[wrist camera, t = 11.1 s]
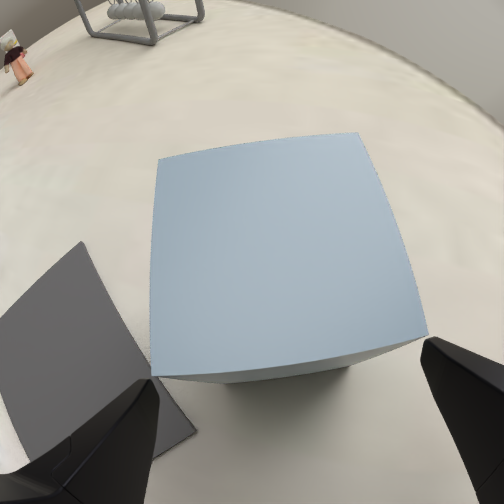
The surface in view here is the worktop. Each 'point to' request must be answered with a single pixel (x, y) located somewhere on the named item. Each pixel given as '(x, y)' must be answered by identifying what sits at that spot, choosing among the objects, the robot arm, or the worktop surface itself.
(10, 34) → the ink cartridge box
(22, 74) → the grandmother figurine
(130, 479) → the robot arm
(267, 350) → the cover
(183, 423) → the mat
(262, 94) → the worktop surface
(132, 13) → the newton's cradle
